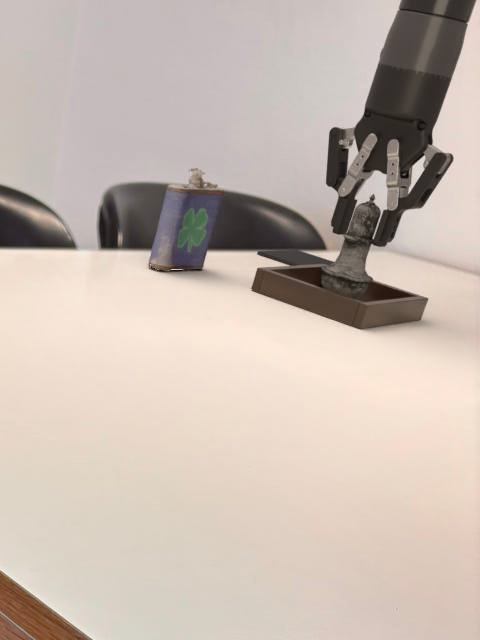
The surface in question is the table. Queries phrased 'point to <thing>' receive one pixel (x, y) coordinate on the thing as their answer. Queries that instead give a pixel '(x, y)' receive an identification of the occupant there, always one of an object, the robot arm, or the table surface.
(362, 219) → the salt shaker
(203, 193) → the flask
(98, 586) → the table surface
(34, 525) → the table surface
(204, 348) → the table surface
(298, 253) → the mat
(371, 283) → the tray
